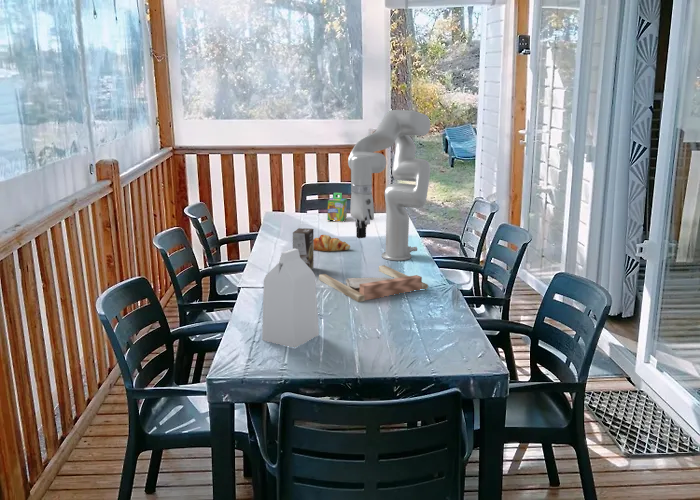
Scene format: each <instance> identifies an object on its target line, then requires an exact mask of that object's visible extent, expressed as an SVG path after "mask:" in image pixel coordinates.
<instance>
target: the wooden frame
mask: <svg viewBox="0 0 700 500" xmlns="http://www.w3.org/2000/svg"><path fill="white" fill-rule="evenodd" d="M378 272H381V273H382V274H385V275H387V276H389V277H391V279H389V280H383V281H376V282H370V283H364V284H360V289H359V292H358V291H356V290H354V289H352V288H350V287H348V286H346V284H345V283H342V282H341V281H339V280H338V279H335V278H333V277H331V276H330V275H328V274H326V273H322V274H319V275H318V280H319V281H320V282H321V283H323V284H325V285H327V286H329V287H330V288H333V289H334V290H336V291H337V292H339V293H342V294H343V295H346V296H347V297H349V298H350V299H352V300H354V301H355V302H358V303H361V302H365V301H368V300H375V299H380V297H381V298H385V297H384V296H387V297H390V296H389V295H393V296H395V295H394V294H398V295H400V294H399V293H404V292H410V291H414V290H420V289H427V288H428V289H429V284H428V283H425V282H424V281H423V277H422V276H420V275H418V274H416V275H407V274H405V273H402V272H400V271H399V270H396V269H394V268H391V267H390V266H387V265H385V264H383V265H379V266H378ZM393 277H394V278H393ZM410 293H411V292H410ZM404 294H405V293H404Z"/></svg>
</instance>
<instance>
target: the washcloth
mask: <svg viewBox="0 0 700 500" xmlns="http://www.w3.org/2000/svg"><path fill="white" fill-rule="evenodd" d="M389 279H392V277H391V278H390V277H347V278H346V279H345V280H344V281H345V283H346V284H345V285H346V286H348V287H350V288H352V289H354V290H356V291H358V292H359V289H360V284H364V283H370V282H376V281H383V280H389Z"/></svg>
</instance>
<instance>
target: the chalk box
mask: <svg viewBox="0 0 700 500" xmlns="http://www.w3.org/2000/svg"><path fill="white" fill-rule="evenodd" d="M337 195H338V196H339V197H337ZM347 209H348V198H344V197H343V193H342V192H333V196H332V197H330V198H329V199H328V200H327V220H335V221H344V220H345V219H346V220H347V218H346V217H347V216H348V215H347V213H348V210H347ZM327 220H326V221H327ZM346 220H345V221H346ZM335 221H334V222H335ZM345 221H344V222H345Z"/></svg>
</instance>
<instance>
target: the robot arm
mask: <svg viewBox="0 0 700 500" xmlns="http://www.w3.org/2000/svg"><path fill="white" fill-rule="evenodd" d="M430 129H431V119H430V117H429V116H428V115H427V114H424V113H421V112H419V111H417V110H412V109H411V110H407V109H405V110H404V109H393V110H388V111H387V112H386V113H385V115H384V116H383V118H382V119H381V122H380V123H379V125H378V126H377V127H376V130H375V131H373V132H372V133H370V134H369V135H366V136H365V137H363V138H361V139H360V140H359V141H357V142H356V143H355V145H354V146H353V148H352V149H351V151H350V154H349V155H348V159H347V165H348V167H349V169H350V173H351V174H350V178H351V180H350V181H351V182H350V193H351V195H350V196H351V197H350V206H349V208H350V213H349V214H350V216H351V217H352V220H353V221H354V222H355V228H356V232H355V233H356V239H357V238H358V239H365V238H366V237H367V228H368V225H371V221H373V220H374V219H375V209H374V207H375V206H374V205H375V204H374V198H373V192H372V188H373V187H372V186H373V179H372V177H373V174H379V173H382V172H383V171H385V169H386V167H387V158H386V156H385V155H384V154H383V153H380V151H383V150H386V149H389V148H391V147H393V145H395V147H394V154H393V155H394V156H393V162H392V169H391V174H392V177H393V179H395V180H397V181H404V182H415V184H411V183H399V182H395V183H394V182H393V183H390V184H388V185H387V186H386V187H385V190H384V199H385V210H386V212H385V214H386V215H385V216H386V220H385V221H386V223H385V224H386V225H385V251H383V252H381V257H382V258H383V259H384V260H389V261H398V262H399V261H407V260H410V259H412V254H411V253H412V252H417V251H418V247H417V246H409V232H410V231H409V229H410V228H409V227H410V215H409V213H408V210H407V209H406V208H412V209H413V208H414V209H421V208H423V207H424V206H425V205H426V202H427V199H428V198H427V197H428V190H429V186H430V185H429V183H430V177H431V165H430V163H429V161H428V160H426V159H424V158H415V157H416V151H417V149H416V148H417V146H416V143H415V142H414V140H413V139H412V137H411V136H418V137H419V136H420V137H422V136H426V135H428V134H429V132H430Z"/></svg>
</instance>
